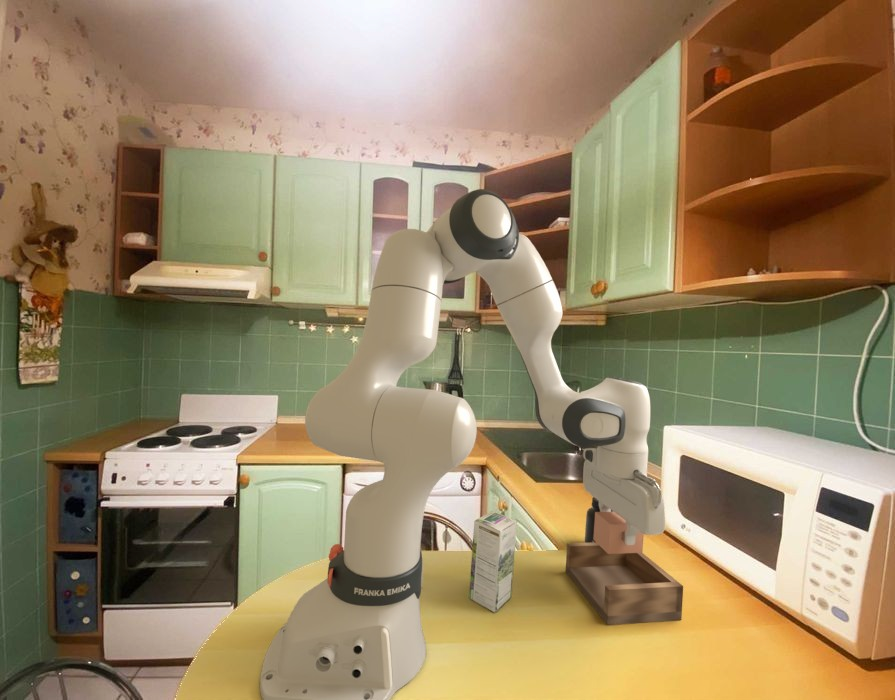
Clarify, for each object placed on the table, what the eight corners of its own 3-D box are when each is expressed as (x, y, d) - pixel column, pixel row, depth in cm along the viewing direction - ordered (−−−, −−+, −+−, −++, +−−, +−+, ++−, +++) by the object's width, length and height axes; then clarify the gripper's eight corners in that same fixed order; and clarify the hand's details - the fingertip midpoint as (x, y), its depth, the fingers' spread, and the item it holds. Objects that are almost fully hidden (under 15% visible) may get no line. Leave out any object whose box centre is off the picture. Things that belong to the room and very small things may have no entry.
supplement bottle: (596, 561, 82) (599, 506, 82) (578, 545, 89) (580, 494, 88) (623, 558, 84) (625, 505, 84) (602, 542, 90) (605, 493, 90)
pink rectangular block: (608, 553, 69) (610, 524, 68) (593, 539, 73) (595, 512, 73) (642, 552, 70) (644, 523, 70) (625, 538, 75) (627, 511, 75)
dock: (607, 625, 63) (609, 590, 63) (565, 571, 77) (567, 543, 77) (681, 619, 65) (683, 586, 65) (626, 568, 80) (628, 541, 80)
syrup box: (485, 584, 72) (489, 509, 72) (512, 598, 68) (517, 519, 68) (468, 598, 67) (472, 518, 67) (496, 614, 64) (500, 530, 64)
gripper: (678, 482, 62) (673, 565, 62) (605, 447, 82) (602, 510, 82) (643, 483, 61) (638, 567, 61) (579, 447, 81) (575, 510, 81)
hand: (617, 534), depth 72 cm, fingers closed on pink rectangular block, 5 cm apart
